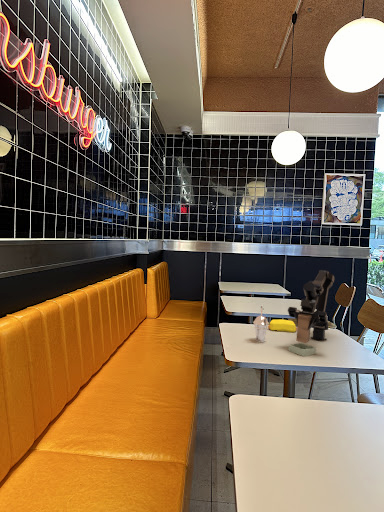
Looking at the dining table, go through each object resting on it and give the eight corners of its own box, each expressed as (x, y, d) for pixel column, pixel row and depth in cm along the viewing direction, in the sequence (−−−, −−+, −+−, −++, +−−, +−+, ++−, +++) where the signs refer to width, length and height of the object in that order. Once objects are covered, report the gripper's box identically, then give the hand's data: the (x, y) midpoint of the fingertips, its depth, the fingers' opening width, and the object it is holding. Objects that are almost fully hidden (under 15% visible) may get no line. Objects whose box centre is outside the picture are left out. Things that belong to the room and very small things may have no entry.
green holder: (301, 348, 177) (301, 342, 177) (315, 353, 169) (316, 347, 169) (288, 350, 172) (288, 344, 172) (303, 356, 165) (303, 350, 164)
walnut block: (299, 338, 174) (301, 313, 173) (309, 340, 171) (311, 315, 171) (296, 340, 170) (298, 315, 169) (306, 343, 167) (308, 317, 166)
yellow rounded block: (298, 333, 208) (295, 330, 216) (299, 322, 208) (296, 319, 216) (268, 331, 210) (266, 328, 218) (269, 320, 210) (267, 317, 217)
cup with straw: (270, 341, 187) (273, 305, 187) (262, 344, 181) (264, 307, 180) (257, 337, 193) (259, 302, 192) (248, 340, 186) (250, 304, 186)
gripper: (290, 291, 178) (281, 315, 169) (327, 295, 168) (320, 322, 159) (293, 304, 185) (285, 328, 176) (330, 309, 174) (323, 335, 166)
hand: (303, 328), depth 169 cm, fingers closed on walnut block, 5 cm apart
